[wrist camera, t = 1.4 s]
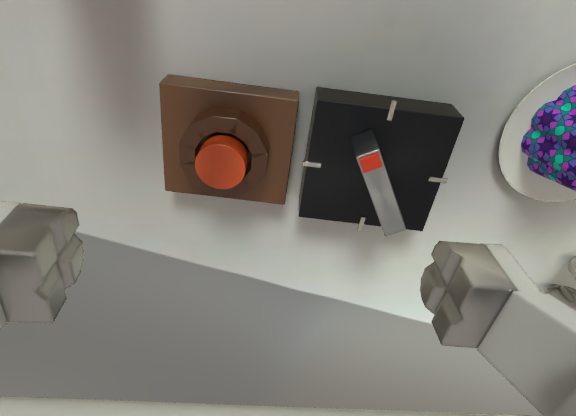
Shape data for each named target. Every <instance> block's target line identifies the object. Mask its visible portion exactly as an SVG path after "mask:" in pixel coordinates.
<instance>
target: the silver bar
mask: <svg viewBox="0 0 576 416" xmlns="http://www.w3.org/2000/svg"><path fill="white" fill-rule="evenodd" d="M351 139H352V143H353V148H354V152H355V156H356V159H357V162H358V165H359V167H360V170H361V173H362V175H363V178H364V181H365V183H366V186H367V189H368V191H369V194H370V197H371V199H372V202H373V205H374V207H375V210H376V213H377V215H378V218H379V221H380V224H381V226H382V229H383V232H384V234H385V236H387V235H390V234H393V233H396V232H400V231H403V230H406V227H405V224H404V221H403V218H402V215H401V212H400V209H399V206H398V203H397V200H396V197H395V194H394V191H393V188H392V185H391V182H390V179H389V176H388V173H387V170H386V167H385V164H384V161H383V158H382V155H381V152H380V149H379V147H378V144H377V141H376V138H375V136H374V133H373V130H372V129H370V130H367V131H365V132H362V133H359V134H357V135H354V136H352V137H351Z"/></svg>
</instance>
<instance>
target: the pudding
mask: <svg viewBox="0 0 576 416" xmlns="http://www.w3.org/2000/svg"><path fill="white" fill-rule="evenodd" d="M499 164H500V167H501V171H502V174H503V175H504V177H505V179H506V181H507V182H508V183H509V184H510V185H511V187H512V188H513V189H514V190H516V191H517V192H519V193H520V194H522V195H524V196H526V197H529V198H531V199H535V200H539V201H545V202H562V201H571V200H575V199H576V63H575V64H573V65H571V66H568V67H566V68H564V69H561V70H560V71H558V72H556V73H555V74H553V75H551V76H550V77H548V78H546V79H545V80H544V81H543V82H541V83H540V84H539V85H537V86H536V87H535V88H534V89H532V90H531V92H530V93H529V94H528V95H527V96H526V97H525V98H524V99H523V100H522V101H521V102H520V103H519V105H518V106H517V107H516V109H515V110H514V111H513V113H512V114H511V116H510V118H509V120H508V122H507V123H506V125H505V128H504V130H503V133H502V136H501V139H500V145H499Z"/></svg>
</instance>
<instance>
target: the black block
mask: <svg viewBox="0 0 576 416" xmlns="http://www.w3.org/2000/svg"><path fill="white" fill-rule="evenodd" d="M463 121H464V117H463V116H462V115H461V114H460V113H459V112H458V111H457V110H456V109H455V107H454V106H453V105H452V104H446V103H438V102H430V101H422V100H414V99H407V98H399V97H391V96H383V95H376V94H368V93H360V92H352V91H344V90H337V89H329V88H321V87H317V88H316V93H315V100H314V106H313V112H312V119H311V125H310V131H309V138H308V144H307V150H306V157H305V161H303V164H302V166H304V170H303V176H302V182H301V189H300V195H299V217H306V218H315V219H323V220H332V221H340V222H349V223H358V224H359V226H358V231H362V229H363V225H364V224H366V225H375V226H381V224H380V221H379V218H378V215H377V213H376V210H375V207H374V205H373V202H372V199H371V197H370V194H369V191H368V189H367V186H366V183H365V181H364V178H363V175H362V173H361V170H360V167H359V165H358V162H357V159H356V156H355V152H354V148H353V143H352V139H351V137H352V136H354V135H357V134H359V133H362V132H365V131H367V130H370V129H372V130H373V133H374V136H375V138H376V141H377V144H378V147H379V149H380V152H381V155H382V158H383V161H384V164H385V167H386V170H387V173H388V176H389V179H390V182H391V185H392V188H393V191H394V194H395V197H396V200H397V203H398V206H399V209H400V212H401V215H402V218H403V221H404V224H405V227H406V229H409V230H418V231H423V228H424V226H425V223H426V220H427V218H428V215H429V212H430V210H431V207H432V204H433V201H434V199H435V196H436V193H437V191H438V188H439V185H440V183H446V182H447V180H448V179H447V178H442V177H443V175H444V172H445V169H446V167H447V164H448V161H449V158H450V156H451V153H452V150H453V148H454V145H455V142H456V140H457V137H458V134H459V132H460V129H461V126H462V124H463Z"/></svg>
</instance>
